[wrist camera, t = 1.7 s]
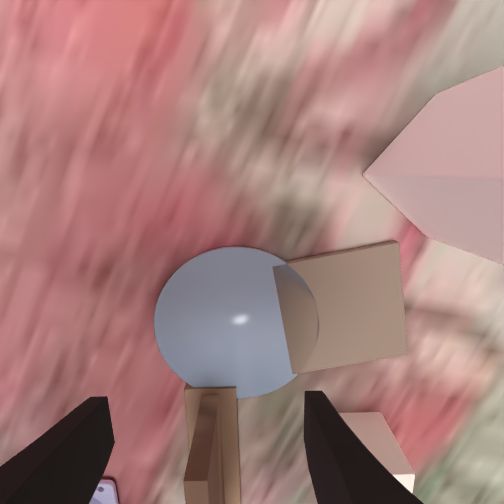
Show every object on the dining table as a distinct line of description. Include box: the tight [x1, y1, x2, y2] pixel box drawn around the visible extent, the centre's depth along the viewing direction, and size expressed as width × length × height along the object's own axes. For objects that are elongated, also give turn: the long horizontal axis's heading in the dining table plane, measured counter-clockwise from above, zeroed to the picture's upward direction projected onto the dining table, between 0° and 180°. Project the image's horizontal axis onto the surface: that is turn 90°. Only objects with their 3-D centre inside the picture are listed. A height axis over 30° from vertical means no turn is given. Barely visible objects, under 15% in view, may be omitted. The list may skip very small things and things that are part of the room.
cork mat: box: [272, 241, 408, 374], centre depth 21 cm, size 8×8×1 cm
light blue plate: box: [154, 246, 319, 399], centre depth 21 cm, size 11×11×1 cm
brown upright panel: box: [184, 383, 241, 504], centre depth 20 cm, size 4×13×7 cm, turn 1°
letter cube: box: [339, 412, 415, 493], centre depth 21 cm, size 5×5×5 cm
